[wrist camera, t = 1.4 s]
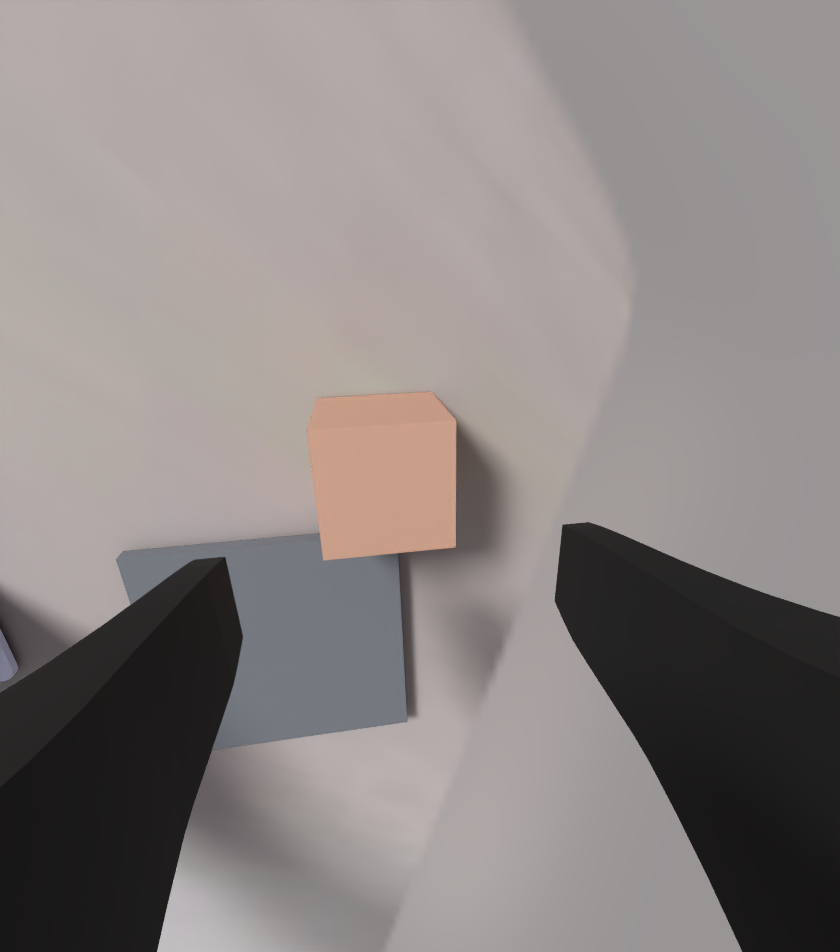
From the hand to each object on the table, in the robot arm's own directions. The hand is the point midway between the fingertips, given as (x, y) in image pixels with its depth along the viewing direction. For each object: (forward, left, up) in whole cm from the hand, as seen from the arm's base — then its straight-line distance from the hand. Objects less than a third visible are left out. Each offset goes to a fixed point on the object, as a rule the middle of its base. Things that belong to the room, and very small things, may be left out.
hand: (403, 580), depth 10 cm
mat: (-5, -9, -9) cm, 14 cm away
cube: (0, 0, -9) cm, 9 cm away
